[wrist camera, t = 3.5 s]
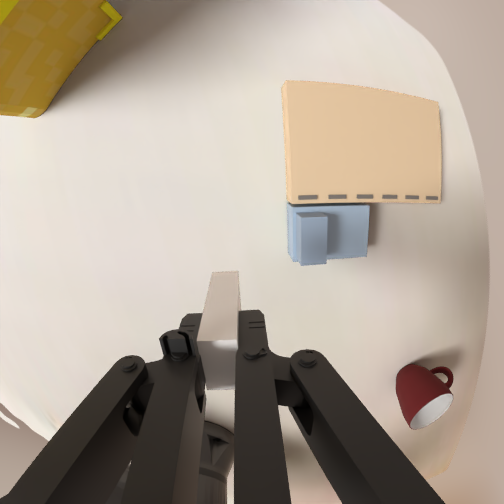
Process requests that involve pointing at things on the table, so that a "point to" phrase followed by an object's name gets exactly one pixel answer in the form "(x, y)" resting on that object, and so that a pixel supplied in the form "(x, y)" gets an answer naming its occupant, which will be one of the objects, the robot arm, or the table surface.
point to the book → (45, 48)
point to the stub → (327, 231)
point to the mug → (423, 394)
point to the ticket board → (359, 144)
